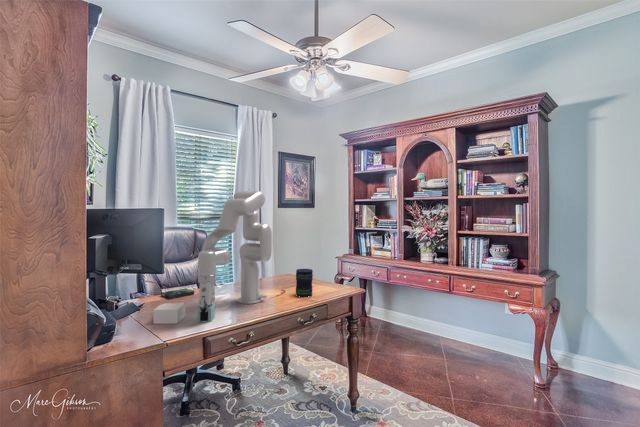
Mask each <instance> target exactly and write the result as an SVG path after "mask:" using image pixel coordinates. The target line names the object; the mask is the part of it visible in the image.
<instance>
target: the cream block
mask: <svg viewBox="0 0 640 427" xmlns="http://www.w3.org/2000/svg"><path fill="white" fill-rule="evenodd" d="M185 316H186V303H184V302H183V303H182V302H180V303H179V302H177V303H175V302H174V303H172V302H171V303H168V302H167V303H164V302H163V303H162V304H160V305H158V306H157V307H156V308H154V309H153V316H152V317H153V320H152V321H153V324H155V325H159V324H161V325H162V324H163V325H164V324H167V325H168V324H172V325H173V324H174V325H175V324H179V322H181V321H182V320H183V319H184V318H185Z"/></svg>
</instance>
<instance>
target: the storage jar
mask: <svg viewBox="0 0 640 427" xmlns="http://www.w3.org/2000/svg"><path fill="white" fill-rule="evenodd" d="M295 272H296V274H295V279H296V286H295V296H296V295H297V296H300V297H299V298H301V297H308V296H311V297H313V278H314V277H313V276H314V275H313V269H311V268H297V269H296V270H295ZM297 296H296V297H297ZM308 298H309V297H308Z"/></svg>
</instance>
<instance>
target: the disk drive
mask: <svg viewBox="0 0 640 427" xmlns="http://www.w3.org/2000/svg"><path fill="white" fill-rule="evenodd" d="M194 295H195V290H192V289H188V288H179V289H174V290H167V291H162V292H161V293H160V297H161V298H164V299H167V300H174V299H180V298H184V297H185V298H186V297H188V296H189V297H190V296H194Z"/></svg>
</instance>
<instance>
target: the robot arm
mask: <svg viewBox="0 0 640 427" xmlns="http://www.w3.org/2000/svg"><path fill="white" fill-rule="evenodd" d="M265 197H266V196H265V194H264V193H263V192H262V191H259V190H258V191H253V190H251V191H249V190H248V191H247V190H241V191H236V192H234V194H233V198H230V199H228V200H226V201H225V203H224V206H223V208H222V212H221V215H220V218H219V222H218V224H217V226H216V227H215V228H214V229H213V230H212V231H211V232H210V234H208V235H207V237H206V238H205V240H204V242H203V244H202V248H201V251H199V252H198V257H197V259H198V260H197V282H198V284H199V290H198V292H199V293H198V305H199V307H200V309H201V310H200V321H208V312H207V309H208V305H213V304H214V302H215V301H216V292H215V290H216V289H215V288H216V286H215V282H216V274H217V272H216V269H217V266H226V265H228V264H229V263H230V262H231V260H232V254H231V252H230V251H229V250H227V249H225V248H215V247H216V245H217V244H218V242H219V241H220V240H222V239H224V238H225V237H228V236H229V235H232V234H234V233H235V232H236V230H237V225H238V224H239V219H240V217H241V216H242V238H243V239H245V240H246V241H252V242H245V243H244V244H243V243H242V245H241V246H240V247H239V251H238V252H239V259H240V297H238V298H237V302H238V303H240V304H245V305H251V304H252V305H253V304H258V303H261V302H262V299H267V294H266V293H260V290H259V288H260V287H259V286H260V285H259V284H260V283H259V282H260V280H259V279H260V278H259V277H260V274H259V273H260V268H259V264H258V262H263V263H264V262H268V261H269V260H270V259H271V257H272V250H273V249H272V242H273V240H272V239H273V236H272V235H273V234H272V228H271V227H270V225H269V224H267V223H260V219H259V218H260V216H259V212H258V210H259V209H261V208H262V207H263V206H264V204H265V201H266V198H265ZM253 241H254V242H253ZM257 242H259V243H257ZM204 306H206V308H205V307H204Z"/></svg>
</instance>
